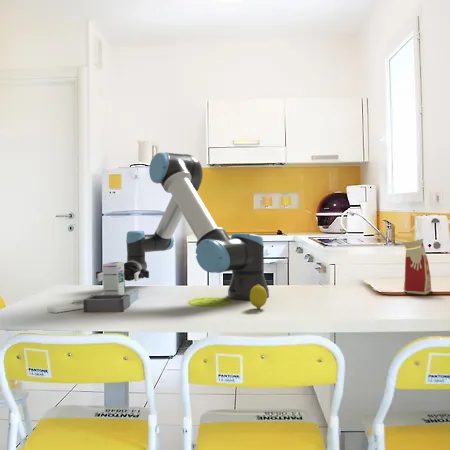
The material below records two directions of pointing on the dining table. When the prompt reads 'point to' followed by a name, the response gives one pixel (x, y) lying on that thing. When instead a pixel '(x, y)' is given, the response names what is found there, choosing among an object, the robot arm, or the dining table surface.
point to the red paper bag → (416, 268)
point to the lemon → (258, 296)
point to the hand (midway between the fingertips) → (116, 277)
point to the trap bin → (106, 303)
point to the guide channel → (132, 296)
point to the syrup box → (113, 278)
